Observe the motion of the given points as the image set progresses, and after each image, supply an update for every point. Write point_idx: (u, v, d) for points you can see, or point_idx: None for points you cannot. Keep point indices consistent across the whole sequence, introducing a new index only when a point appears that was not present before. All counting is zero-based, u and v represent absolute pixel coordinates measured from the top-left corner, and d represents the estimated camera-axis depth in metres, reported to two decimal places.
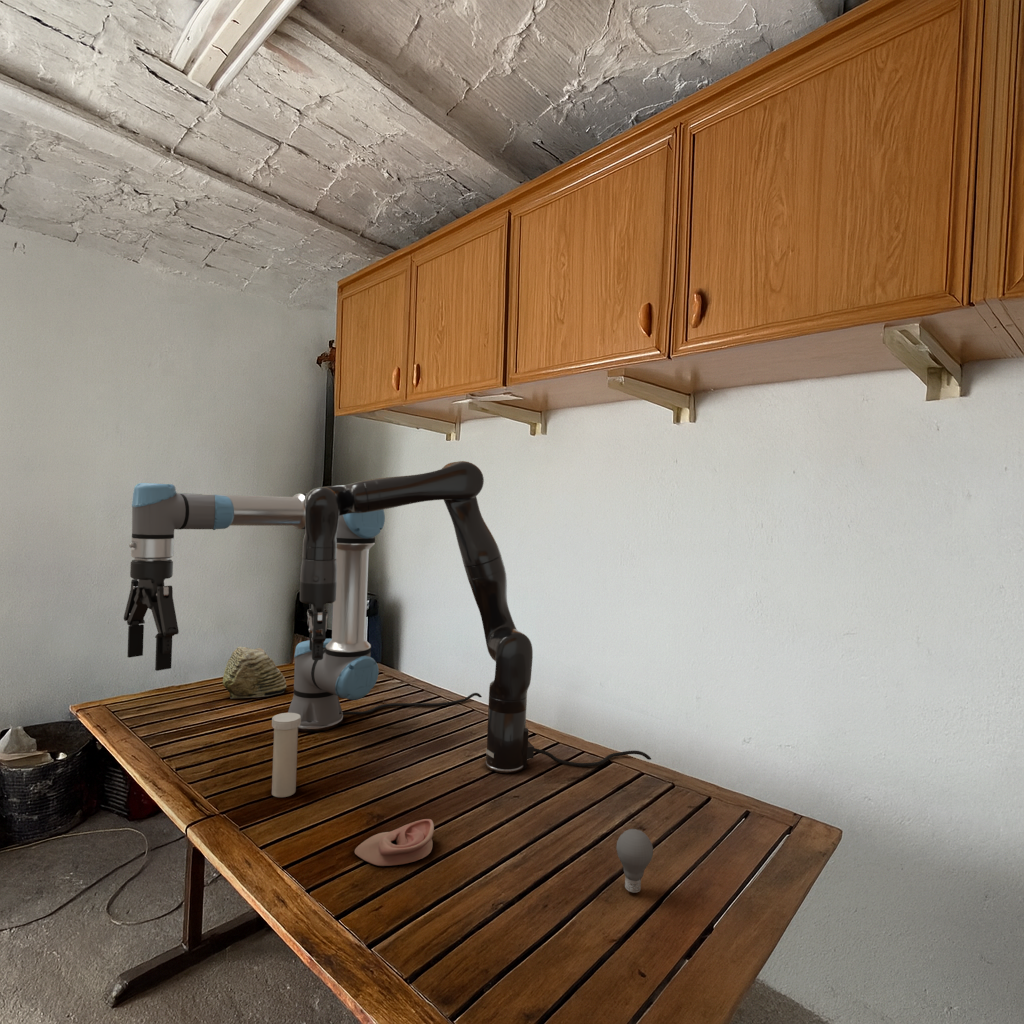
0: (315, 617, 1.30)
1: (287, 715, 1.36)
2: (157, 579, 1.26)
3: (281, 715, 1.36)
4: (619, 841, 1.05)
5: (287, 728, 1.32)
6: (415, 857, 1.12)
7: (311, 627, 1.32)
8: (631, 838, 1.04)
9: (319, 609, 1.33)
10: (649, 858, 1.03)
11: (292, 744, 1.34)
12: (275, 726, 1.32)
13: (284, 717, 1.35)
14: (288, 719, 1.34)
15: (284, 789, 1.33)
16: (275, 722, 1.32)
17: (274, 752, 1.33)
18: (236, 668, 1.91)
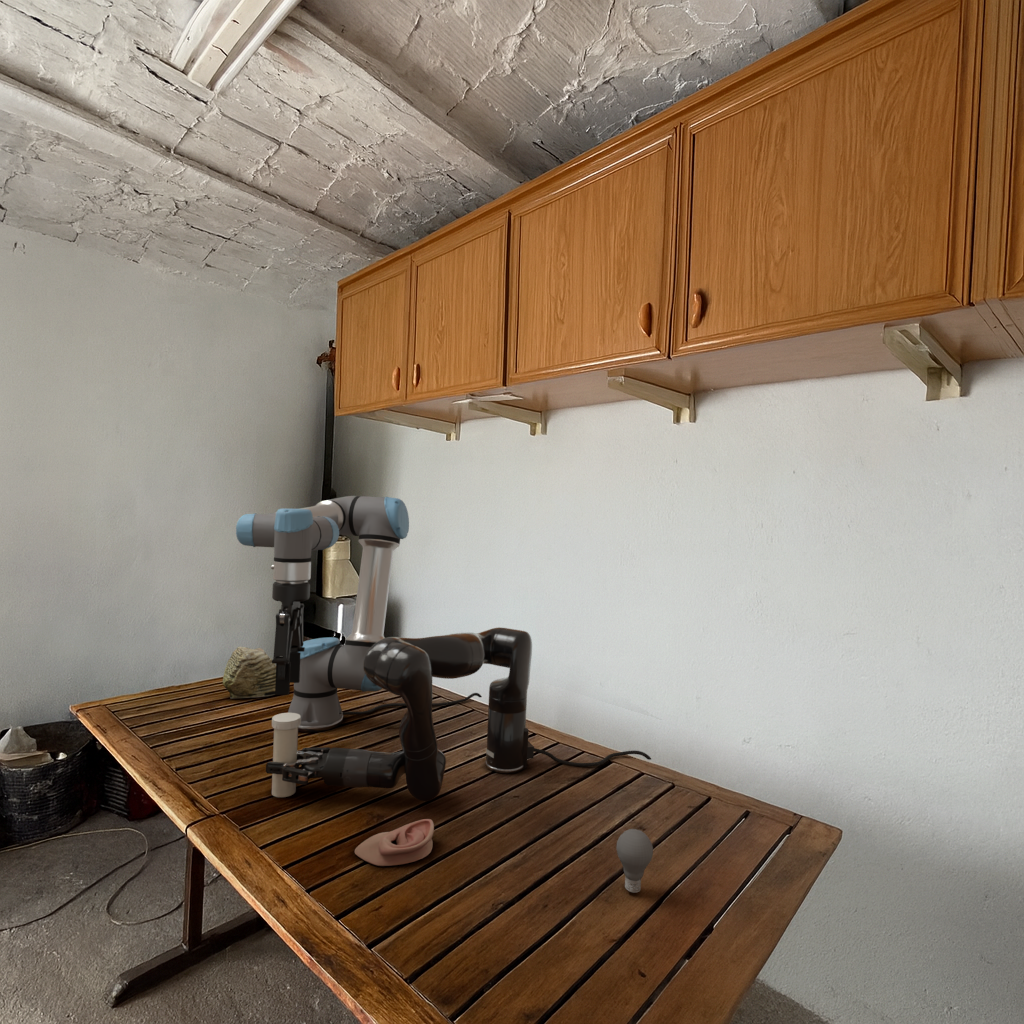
0: None
1: (287, 715, 1.36)
2: (284, 602, 1.31)
3: (281, 715, 1.36)
4: (619, 841, 1.05)
5: (287, 728, 1.32)
6: (415, 857, 1.12)
7: None
8: (631, 838, 1.04)
9: None
10: (649, 858, 1.03)
11: (292, 744, 1.34)
12: (275, 726, 1.32)
13: (284, 717, 1.35)
14: (288, 719, 1.34)
15: (284, 789, 1.33)
16: (275, 722, 1.32)
17: (274, 752, 1.33)
18: (236, 668, 1.91)
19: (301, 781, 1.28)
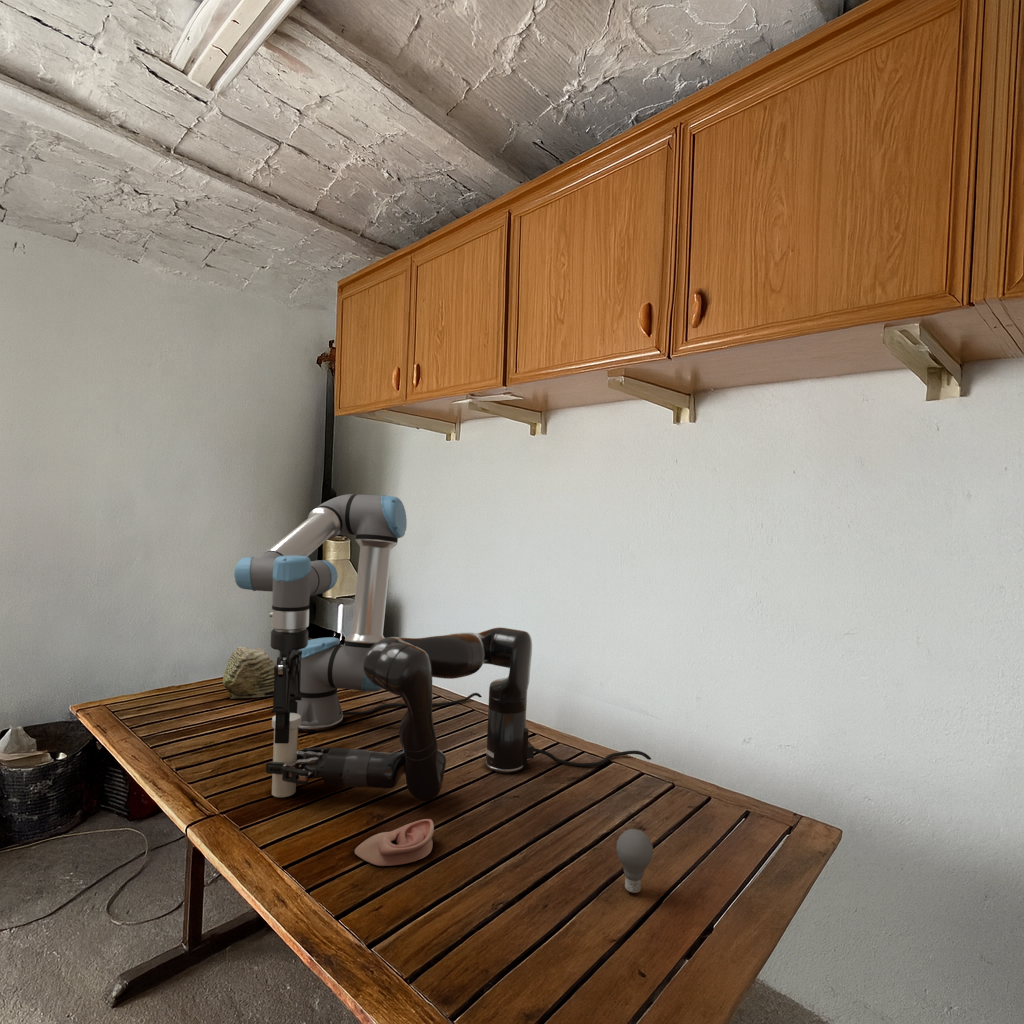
0: None
1: None
2: (282, 651, 1.31)
3: None
4: (619, 841, 1.05)
5: None
6: (415, 857, 1.12)
7: None
8: (631, 838, 1.04)
9: None
10: (649, 858, 1.03)
11: (292, 744, 1.34)
12: None
13: None
14: None
15: (284, 789, 1.33)
16: None
17: (274, 752, 1.33)
18: (236, 668, 1.91)
19: (301, 781, 1.28)
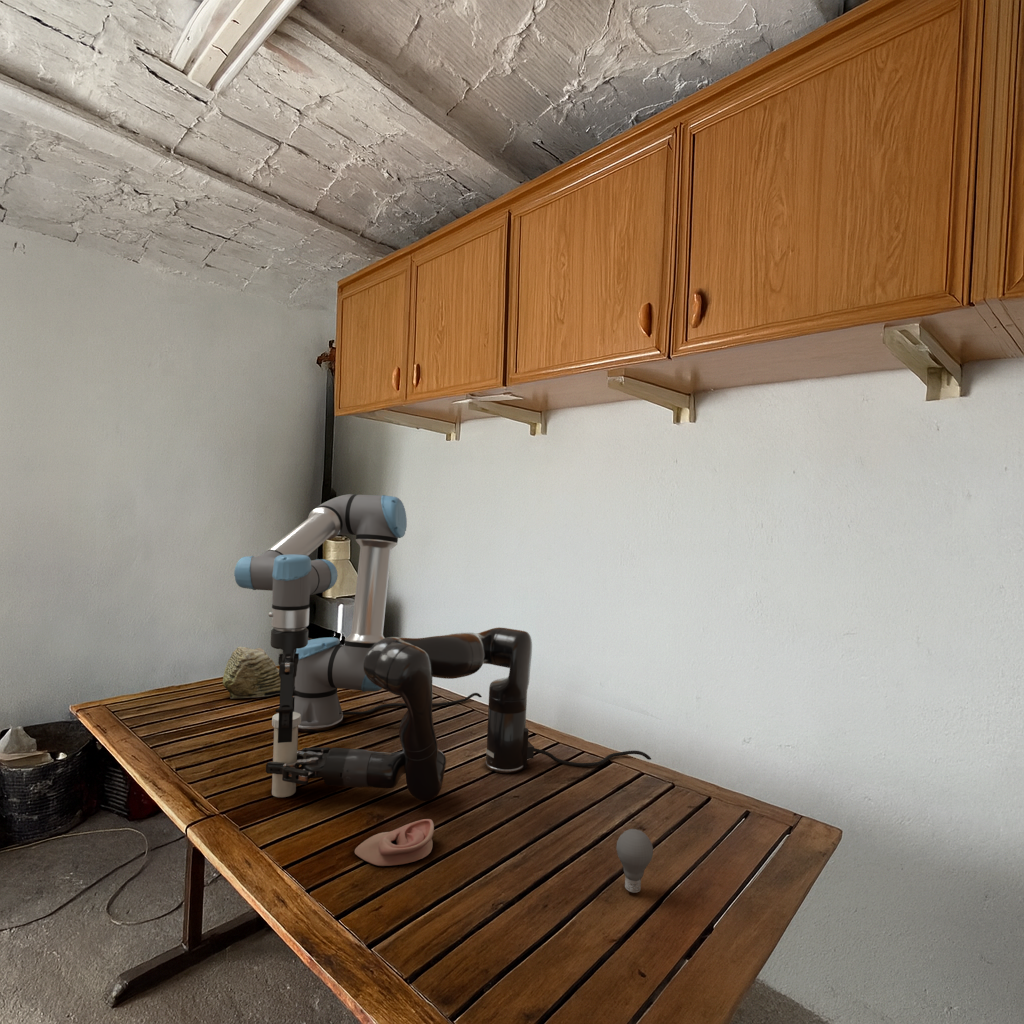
0: None
1: None
2: (286, 650, 1.31)
3: None
4: (619, 841, 1.05)
5: (300, 722, 1.35)
6: (415, 857, 1.12)
7: None
8: (631, 838, 1.04)
9: None
10: (649, 858, 1.03)
11: (292, 744, 1.34)
12: (293, 725, 1.33)
13: None
14: (294, 715, 1.35)
15: (284, 789, 1.33)
16: (293, 721, 1.33)
17: (274, 752, 1.33)
18: (236, 668, 1.91)
19: (301, 781, 1.28)
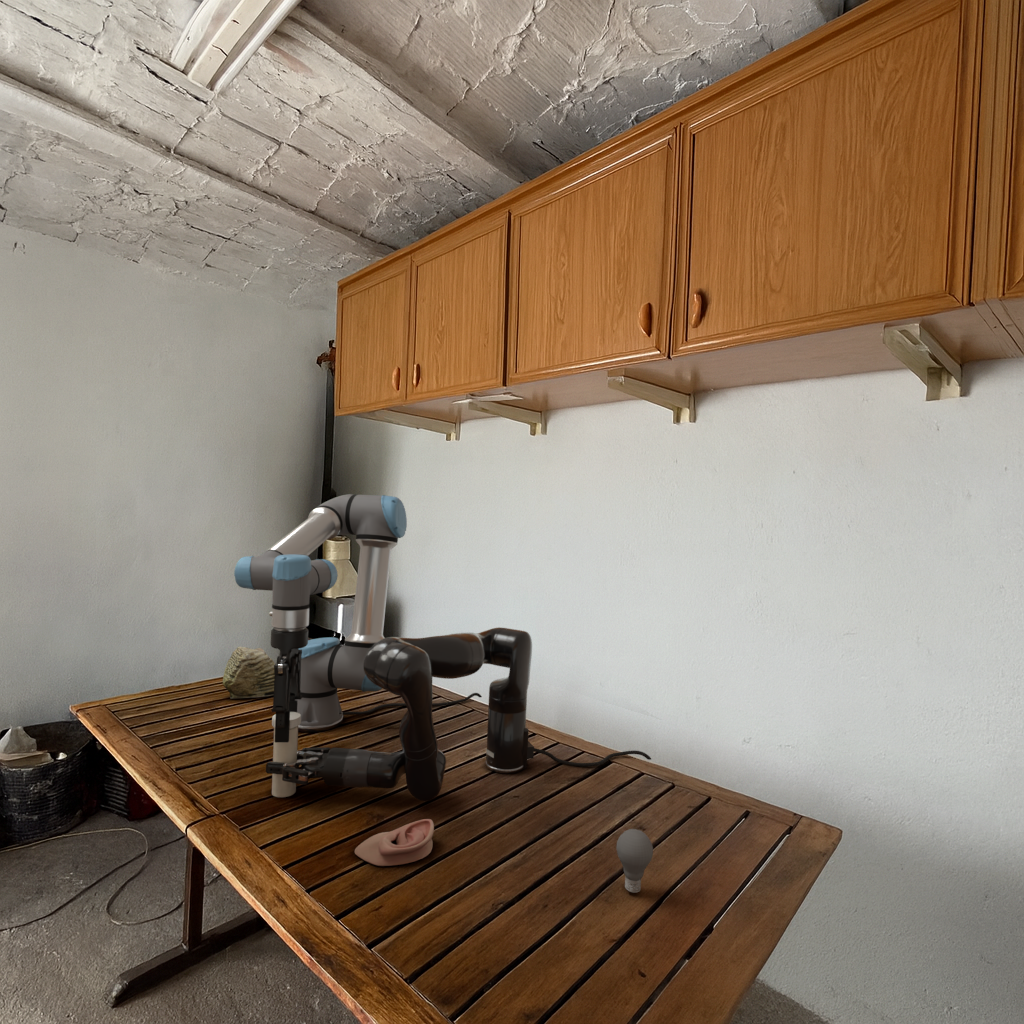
0: None
1: None
2: (282, 650, 1.31)
3: None
4: (619, 841, 1.05)
5: (300, 722, 1.35)
6: (415, 857, 1.12)
7: None
8: (631, 838, 1.04)
9: None
10: (649, 858, 1.03)
11: (292, 744, 1.34)
12: (293, 725, 1.33)
13: None
14: (294, 715, 1.35)
15: (284, 789, 1.33)
16: (293, 721, 1.33)
17: (274, 752, 1.33)
18: (236, 668, 1.91)
19: (301, 781, 1.28)
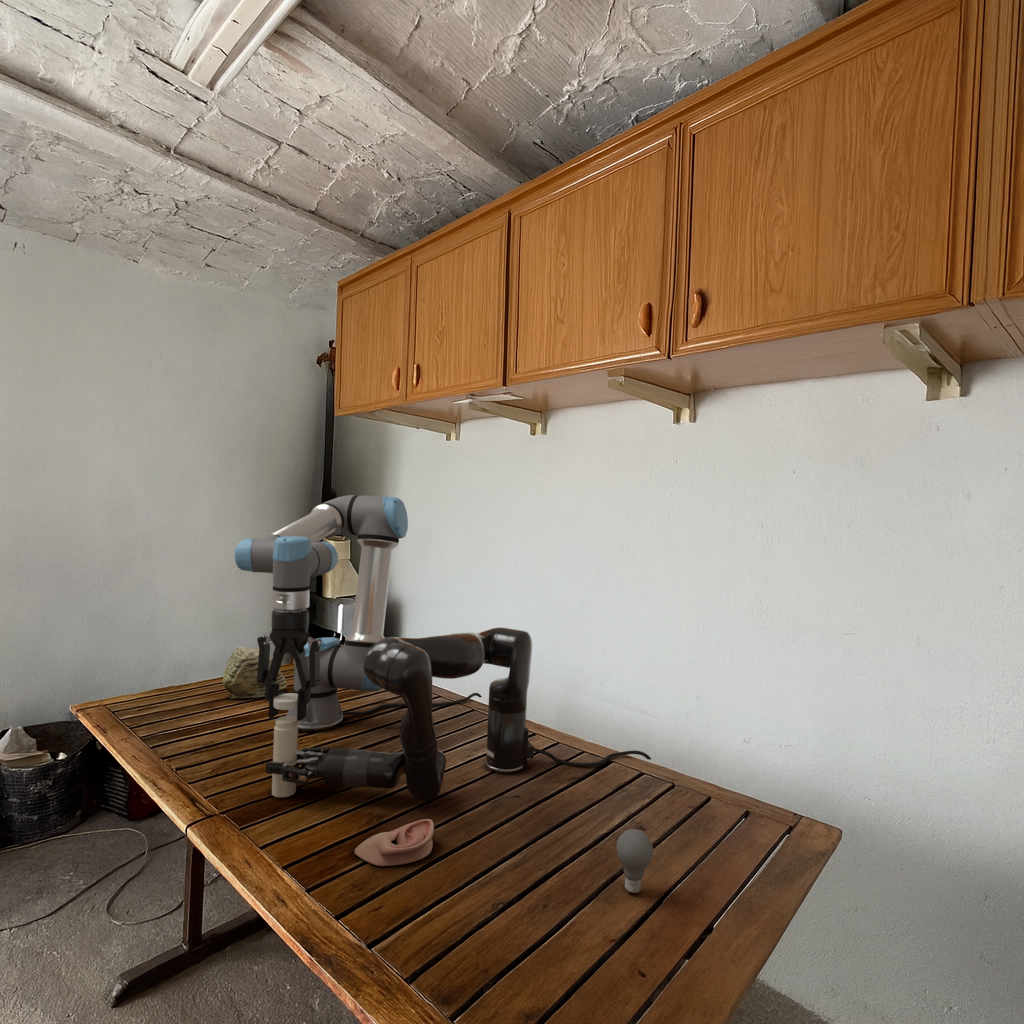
0: None
1: (285, 698, 1.34)
2: (306, 628, 1.34)
3: (290, 699, 1.34)
4: (619, 841, 1.05)
5: None
6: (415, 857, 1.12)
7: None
8: (631, 838, 1.04)
9: None
10: (649, 858, 1.03)
11: (292, 744, 1.34)
12: None
13: (290, 697, 1.35)
14: (289, 694, 1.37)
15: (284, 789, 1.33)
16: None
17: (274, 752, 1.33)
18: (236, 668, 1.91)
19: (301, 781, 1.28)
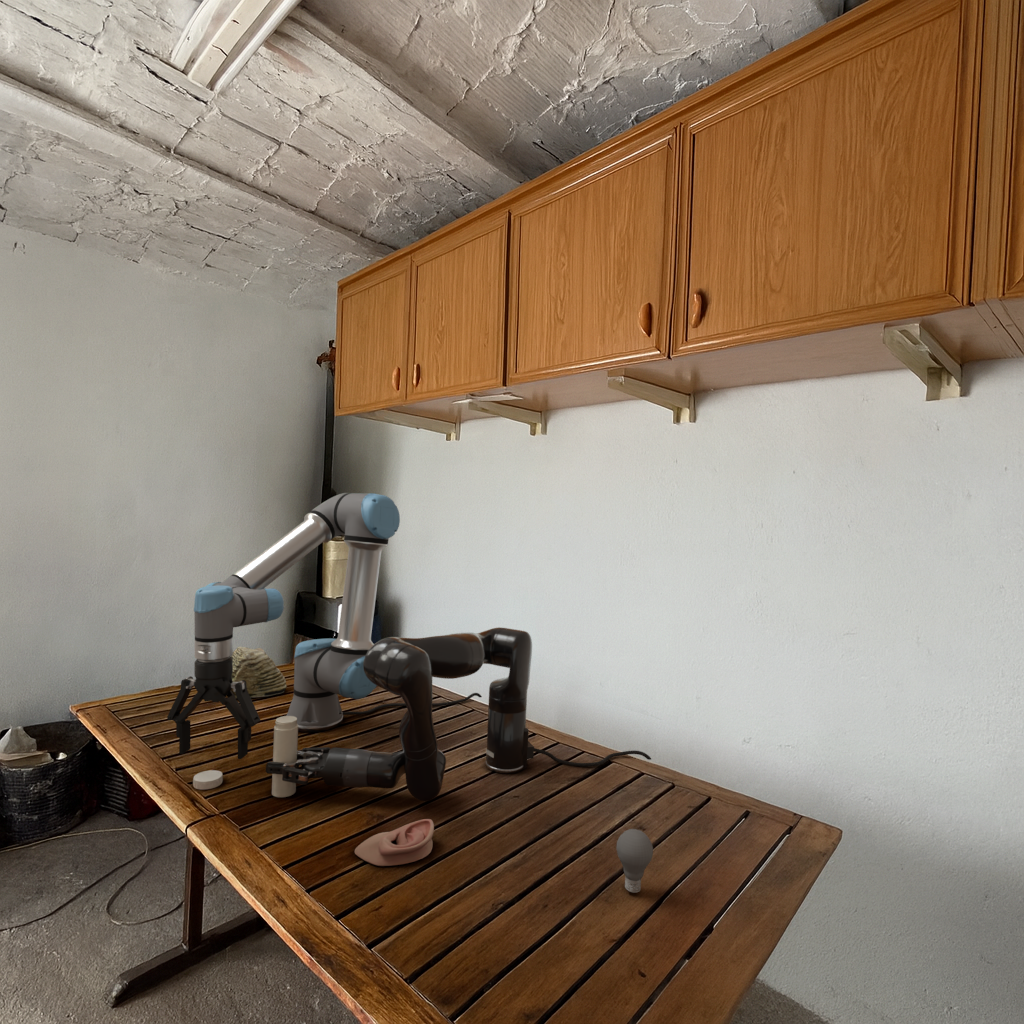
0: None
1: (204, 777, 1.36)
2: (228, 677, 1.37)
3: (209, 778, 1.36)
4: (619, 841, 1.05)
5: None
6: (415, 857, 1.12)
7: None
8: (631, 838, 1.04)
9: None
10: (649, 858, 1.03)
11: (292, 744, 1.34)
12: None
13: (210, 775, 1.38)
14: (210, 772, 1.39)
15: (284, 789, 1.33)
16: (222, 774, 1.39)
17: (274, 752, 1.33)
18: (236, 668, 1.91)
19: (301, 781, 1.28)
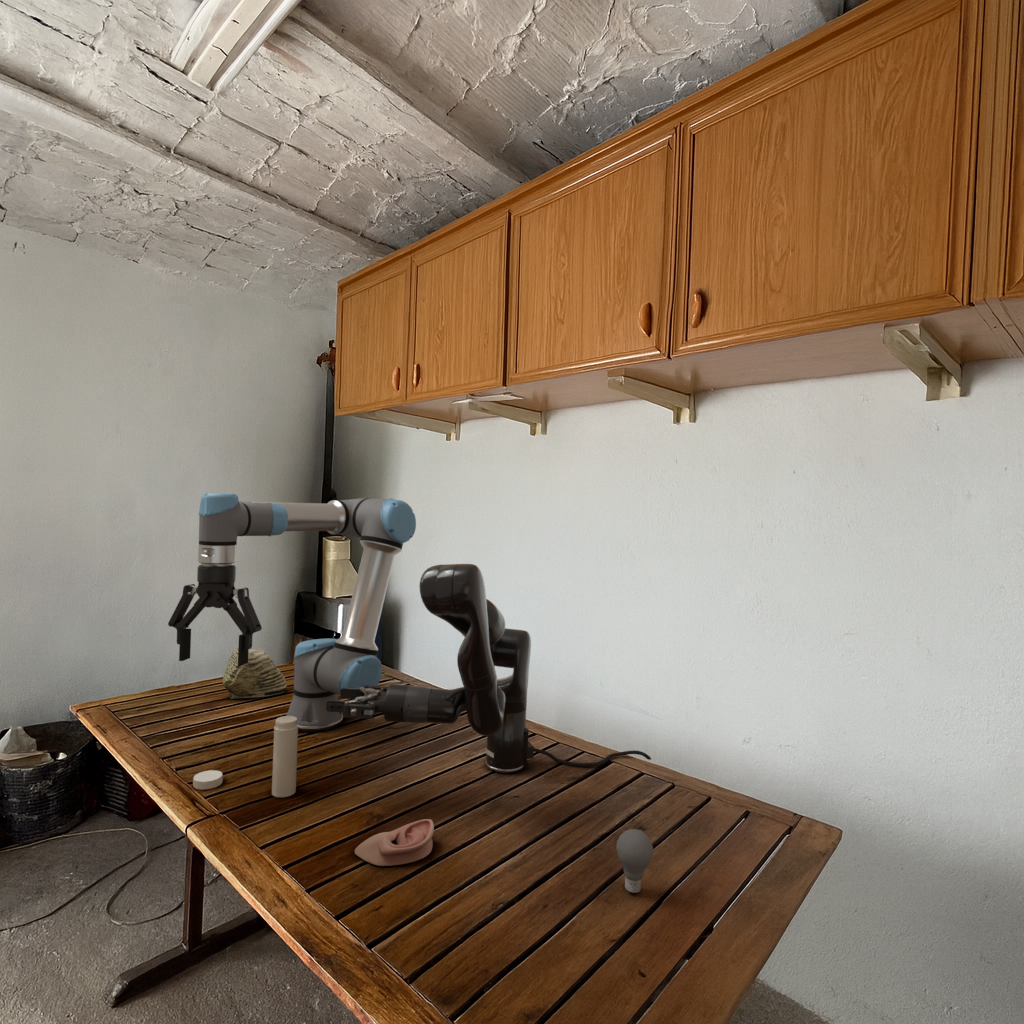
0: None
1: (204, 777, 1.36)
2: (231, 583, 1.36)
3: (209, 778, 1.36)
4: (619, 841, 1.05)
5: None
6: (415, 857, 1.12)
7: None
8: (631, 838, 1.04)
9: None
10: (649, 858, 1.03)
11: (292, 744, 1.34)
12: None
13: (210, 775, 1.38)
14: (210, 772, 1.39)
15: (284, 789, 1.33)
16: (222, 774, 1.39)
17: (274, 752, 1.33)
18: (236, 668, 1.91)
19: (368, 715, 1.27)
